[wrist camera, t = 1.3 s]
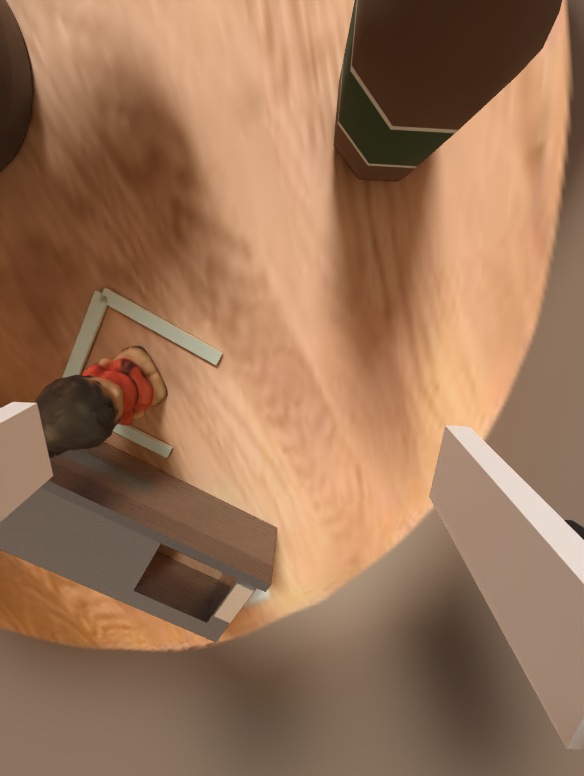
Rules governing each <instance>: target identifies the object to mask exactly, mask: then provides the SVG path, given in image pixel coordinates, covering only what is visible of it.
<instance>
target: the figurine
mask: <svg viewBox="0 0 584 776" xmlns="http://www.w3.org/2000/svg"><path fill="white" fill-rule="evenodd" d="M166 392H167V390H166V386H165V384H164V382H163V379H162V377H161V375H160V373H159V371H158V369H157V367H156V365H155V364H154V362H153V360H152V359H151V357H150V356H149V354H148V353H147V351H146V350H145V349H144V348H142V347H140V346H132V347H131V348H126V349H123V350H122V351H121V352H120V353H119V354H118V355H117V356H116V357H115V358H114V359H113V360H111V359H108V358H103V359H102V360H100V362H99V364H94V365H92V366H90V367H89V368H87V370H86V371H84V372H83V373H82V375H73V376H69V377H62V378H60V379H57V380H55V381H53V382H52V383H50V384H49V385H48V386H46V387H45V389H44V390H43V391H42V392H41V394H40V395H39V396H38V398H37V399H36V401H35V402H34V403H37V405H38V410H39V414H40V419H41V423H42V428H43V432H44V437H45V441H46V446H47V450H48V455H49V458H53V457H54V456H55V455H56V456H59V455H61V454H62V453H64V452H66V451H68V450H78V449H91V448H95V447H99V446H100V445H101V444H102V443H103V442H104V441H105V440H106V439H107V438H108V437H109V436H111V434H112V432H113V430H114V428H115V426H116V425H117V424H120V425H126V426H129V425H131V422H132V419H140V418H142V417H143V416H144V415H145V411H146V410H147V409H148V408H149V407H153V406H156V405H158V404H159V403H160V402H161V401H163V400H164V398H165V397H166Z"/></svg>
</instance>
